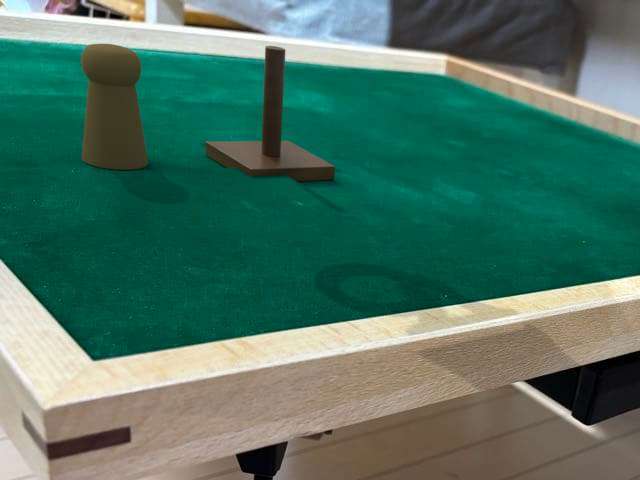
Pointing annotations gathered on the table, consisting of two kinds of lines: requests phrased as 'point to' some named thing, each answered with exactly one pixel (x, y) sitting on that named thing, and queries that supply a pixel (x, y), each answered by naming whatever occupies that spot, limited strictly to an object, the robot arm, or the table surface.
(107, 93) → the cork
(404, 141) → the table surface
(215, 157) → the post
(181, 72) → the table surface
